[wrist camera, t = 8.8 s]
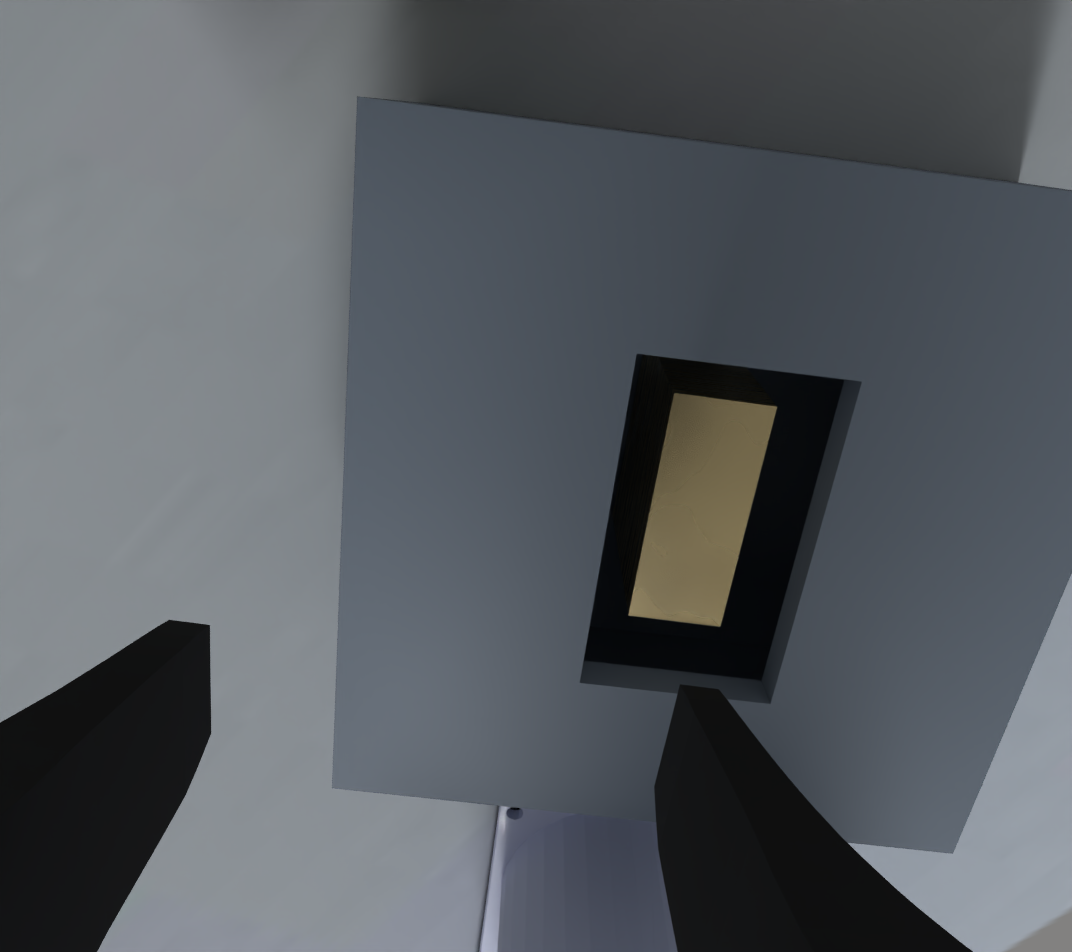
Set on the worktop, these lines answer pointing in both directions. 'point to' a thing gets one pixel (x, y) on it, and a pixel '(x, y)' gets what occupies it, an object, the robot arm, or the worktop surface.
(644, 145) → the slot box
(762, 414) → the block
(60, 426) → the worktop surface
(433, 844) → the worktop surface
